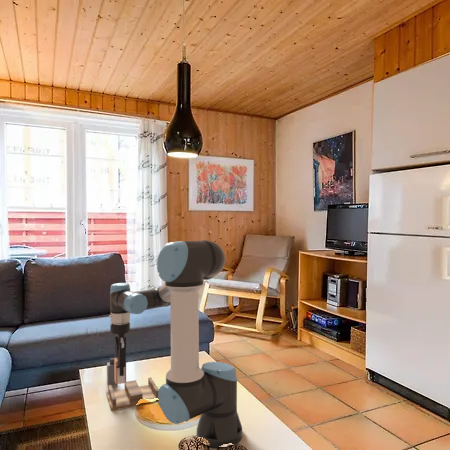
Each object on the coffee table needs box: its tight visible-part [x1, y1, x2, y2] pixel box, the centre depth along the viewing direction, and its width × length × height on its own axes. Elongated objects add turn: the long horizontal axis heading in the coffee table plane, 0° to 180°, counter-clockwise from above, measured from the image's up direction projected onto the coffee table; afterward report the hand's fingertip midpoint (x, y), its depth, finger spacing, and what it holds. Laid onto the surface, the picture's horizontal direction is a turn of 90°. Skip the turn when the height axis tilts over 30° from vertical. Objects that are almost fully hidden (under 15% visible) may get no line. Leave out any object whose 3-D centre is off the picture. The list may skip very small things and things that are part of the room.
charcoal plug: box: [106, 357, 119, 387], centre depth 162 cm, size 4×4×11 cm
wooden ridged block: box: [106, 377, 160, 411], centre depth 149 cm, size 14×19×4 cm
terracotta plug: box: [113, 357, 127, 385], centre depth 147 cm, size 4×4×11 cm
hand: (120, 380), depth 147 cm, fingers closed on terracotta plug, 4 cm apart
